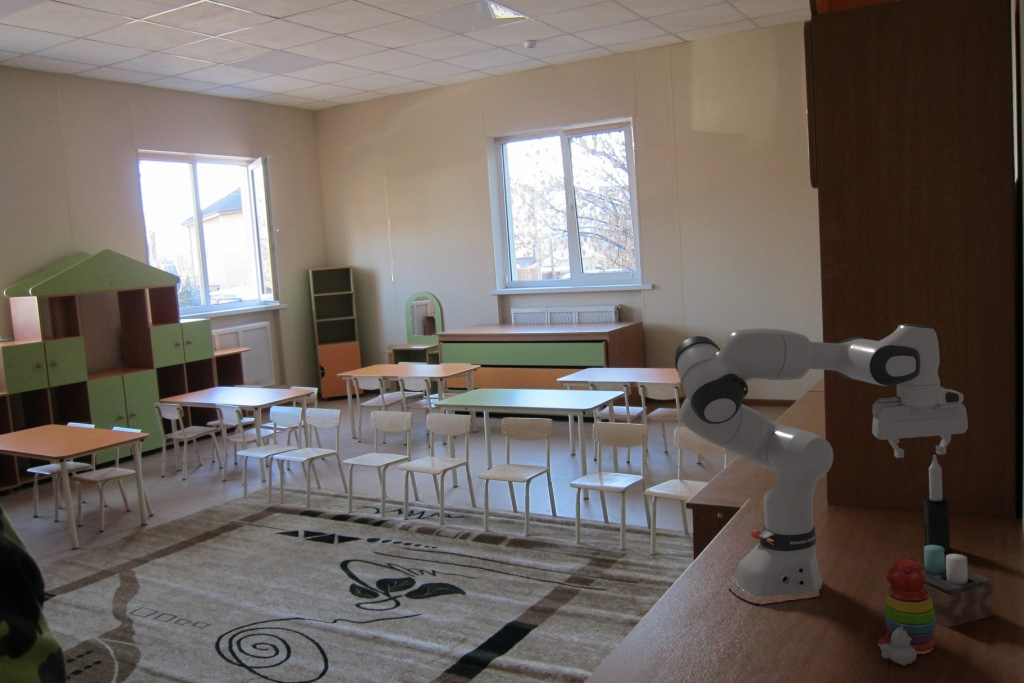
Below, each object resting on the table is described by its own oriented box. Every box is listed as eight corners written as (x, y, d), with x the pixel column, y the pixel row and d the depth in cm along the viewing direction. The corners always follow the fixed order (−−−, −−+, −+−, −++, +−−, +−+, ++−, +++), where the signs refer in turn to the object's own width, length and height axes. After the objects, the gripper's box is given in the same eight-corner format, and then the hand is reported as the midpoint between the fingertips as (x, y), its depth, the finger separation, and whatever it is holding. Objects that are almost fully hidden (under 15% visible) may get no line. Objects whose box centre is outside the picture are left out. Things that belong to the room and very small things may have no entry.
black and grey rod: (951, 552, 218) (948, 457, 215) (929, 553, 219) (926, 457, 216) (945, 545, 223) (942, 451, 220) (924, 545, 224) (921, 452, 221)
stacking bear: (890, 628, 181) (887, 547, 179) (942, 639, 175) (939, 555, 173) (874, 649, 173) (871, 565, 171) (928, 662, 167) (925, 574, 165)
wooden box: (948, 627, 180) (947, 591, 179) (902, 604, 192) (901, 570, 191) (993, 615, 183) (992, 579, 182) (945, 593, 195) (944, 559, 194)
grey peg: (957, 598, 181) (956, 562, 181) (942, 591, 185) (941, 556, 184) (972, 594, 183) (971, 558, 182) (957, 587, 186) (956, 552, 185)
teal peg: (934, 587, 187) (933, 552, 186) (921, 581, 191) (919, 547, 190) (949, 584, 189) (948, 549, 188) (935, 577, 192) (934, 543, 191)
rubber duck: (920, 670, 164) (919, 630, 163) (884, 670, 165) (882, 630, 164) (912, 656, 169) (911, 618, 168) (877, 656, 171) (875, 618, 170)
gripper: (878, 401, 189) (880, 462, 190) (970, 394, 189) (972, 455, 190) (866, 396, 195) (868, 455, 196) (955, 389, 195) (957, 448, 196)
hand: (920, 455), depth 193 cm, fingers open, 8 cm apart
